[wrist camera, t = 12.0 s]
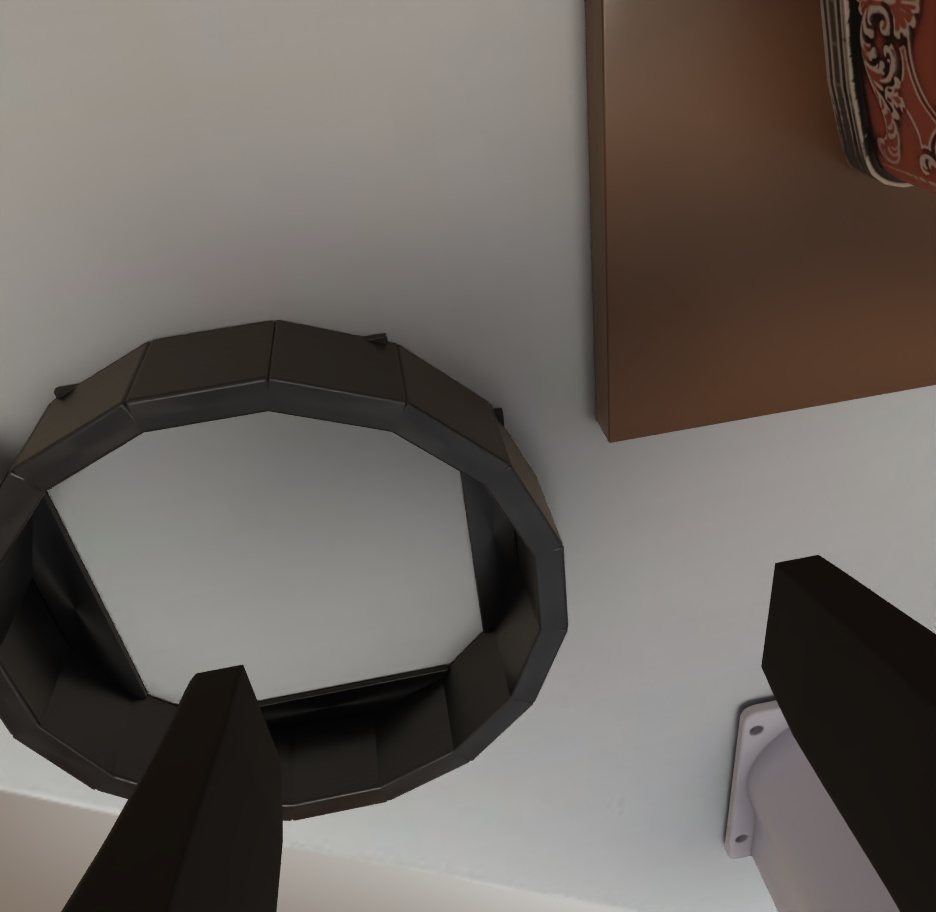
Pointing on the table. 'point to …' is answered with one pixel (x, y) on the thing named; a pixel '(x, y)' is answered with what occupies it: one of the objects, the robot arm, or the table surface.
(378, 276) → the table surface
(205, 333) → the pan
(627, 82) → the board
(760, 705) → the robot arm
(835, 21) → the lighter
